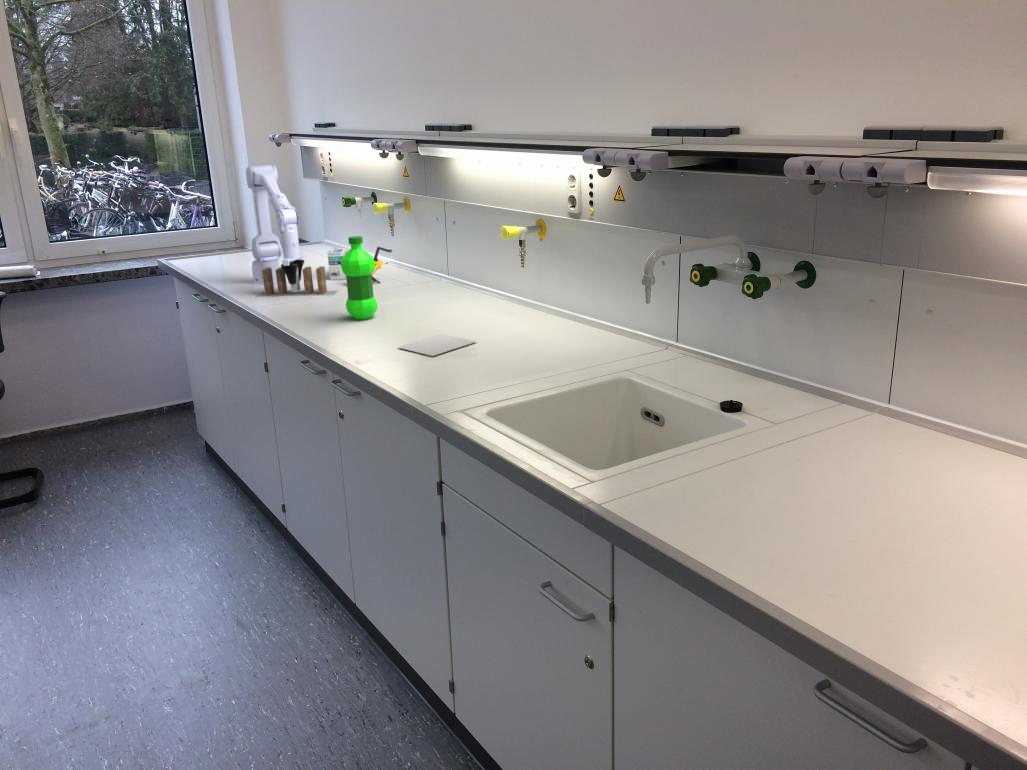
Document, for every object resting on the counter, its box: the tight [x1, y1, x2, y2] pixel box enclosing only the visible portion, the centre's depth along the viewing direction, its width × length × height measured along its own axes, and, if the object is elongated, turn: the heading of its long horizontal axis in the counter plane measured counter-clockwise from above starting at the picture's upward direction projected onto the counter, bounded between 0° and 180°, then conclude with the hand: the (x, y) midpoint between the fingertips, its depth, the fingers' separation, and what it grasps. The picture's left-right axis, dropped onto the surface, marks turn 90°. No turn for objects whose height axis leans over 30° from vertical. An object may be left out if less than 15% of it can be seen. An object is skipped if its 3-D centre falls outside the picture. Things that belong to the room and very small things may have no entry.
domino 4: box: [315, 265, 328, 296], centre depth 296 cm, size 2×5×9 cm, turn 176°
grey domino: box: [290, 264, 301, 292], centre depth 296 cm, size 2×5×9 cm, turn 176°
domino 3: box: [302, 266, 315, 295], centre depth 296 cm, size 2×5×9 cm, turn 176°
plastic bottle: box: [341, 235, 378, 321], centre depth 258 cm, size 10×10×25 cm
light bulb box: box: [327, 247, 350, 281], centre depth 324 cm, size 11×7×11 cm, turn 2°
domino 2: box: [276, 266, 288, 295], centre depth 297 cm, size 2×5×9 cm, turn 176°
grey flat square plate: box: [397, 333, 478, 357], centre depth 223 cm, size 23×25×1 cm
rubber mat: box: [255, 290, 340, 298], centre depth 298 cm, size 28×8×1 cm, turn 86°
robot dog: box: [345, 246, 393, 284], centre depth 309 cm, size 6×18×13 cm, turn 120°
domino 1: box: [262, 268, 275, 297], centre depth 297 cm, size 2×5×9 cm, turn 176°
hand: (295, 282), depth 296 cm, fingers closed on grey domino, 5 cm apart
